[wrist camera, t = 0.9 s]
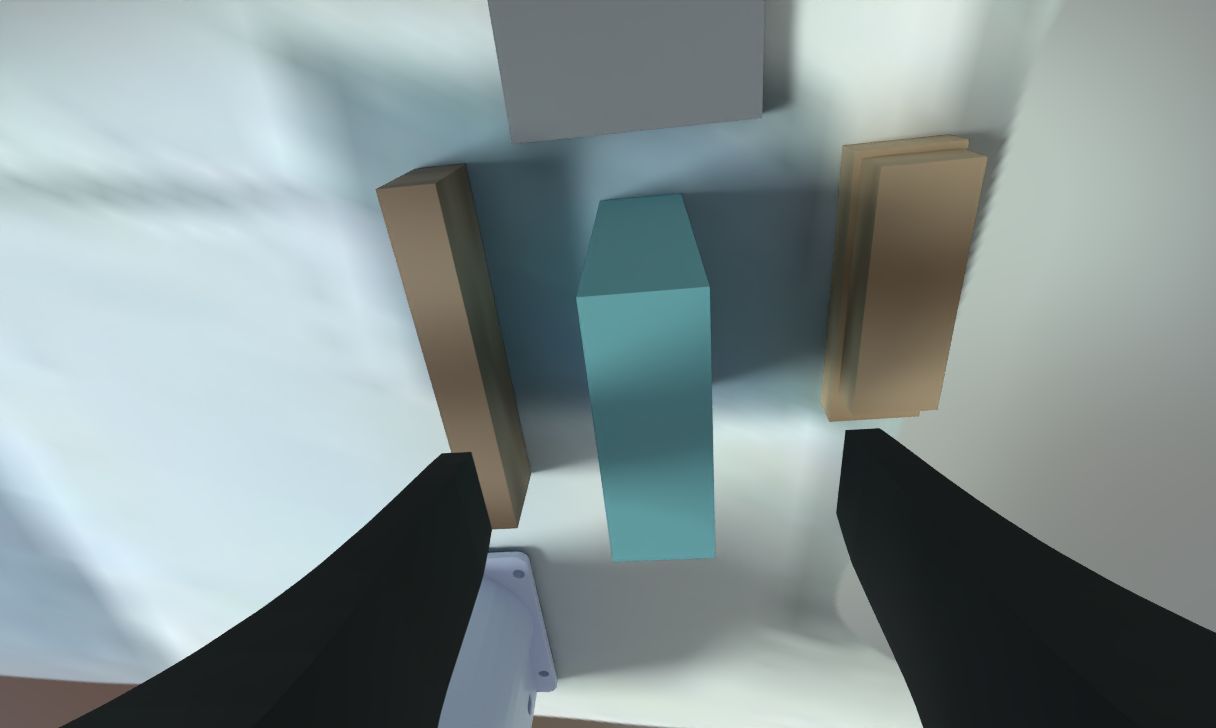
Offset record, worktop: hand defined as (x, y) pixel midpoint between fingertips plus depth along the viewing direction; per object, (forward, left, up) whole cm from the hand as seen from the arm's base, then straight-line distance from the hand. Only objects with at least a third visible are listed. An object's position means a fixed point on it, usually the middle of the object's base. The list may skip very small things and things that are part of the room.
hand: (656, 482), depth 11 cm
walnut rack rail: (-1, +6, -9) cm, 11 cm away
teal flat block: (0, 0, -9) cm, 9 cm away
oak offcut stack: (0, -7, -10) cm, 12 cm away
